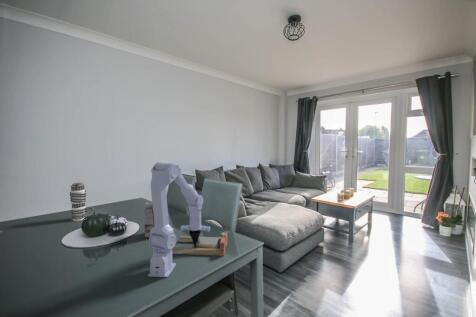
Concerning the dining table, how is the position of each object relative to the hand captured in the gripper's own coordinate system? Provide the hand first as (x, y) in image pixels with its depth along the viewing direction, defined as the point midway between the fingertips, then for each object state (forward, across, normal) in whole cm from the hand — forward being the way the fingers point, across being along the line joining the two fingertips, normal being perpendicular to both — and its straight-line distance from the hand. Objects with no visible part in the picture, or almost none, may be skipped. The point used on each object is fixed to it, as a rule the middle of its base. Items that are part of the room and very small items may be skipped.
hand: (195, 244), depth 110 cm
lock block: (+2, -6, 0) cm, 6 cm away
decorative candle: (+2, +92, -35) cm, 98 cm away
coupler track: (+1, -2, 0) cm, 2 cm away
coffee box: (+2, +28, -14) cm, 31 cm away
